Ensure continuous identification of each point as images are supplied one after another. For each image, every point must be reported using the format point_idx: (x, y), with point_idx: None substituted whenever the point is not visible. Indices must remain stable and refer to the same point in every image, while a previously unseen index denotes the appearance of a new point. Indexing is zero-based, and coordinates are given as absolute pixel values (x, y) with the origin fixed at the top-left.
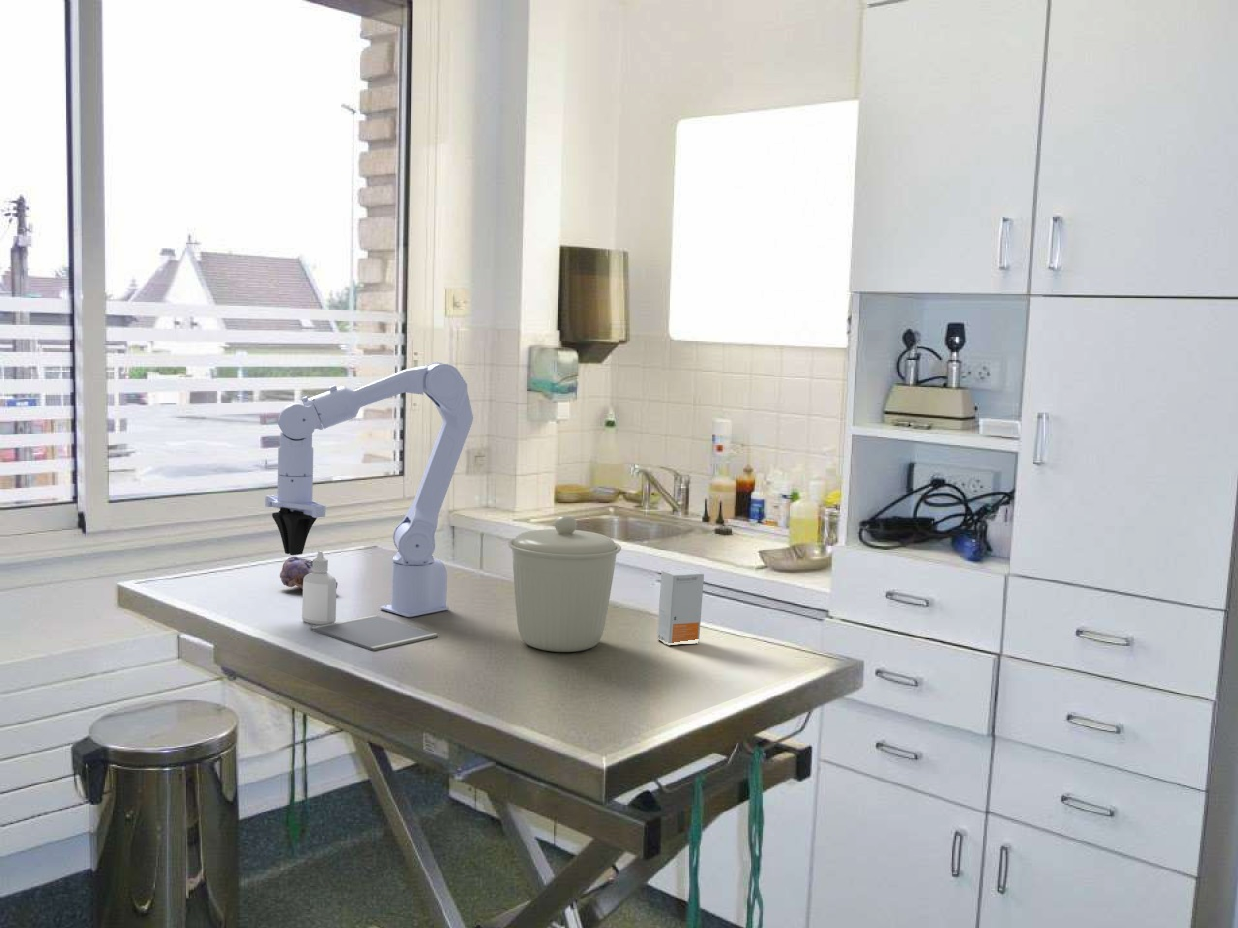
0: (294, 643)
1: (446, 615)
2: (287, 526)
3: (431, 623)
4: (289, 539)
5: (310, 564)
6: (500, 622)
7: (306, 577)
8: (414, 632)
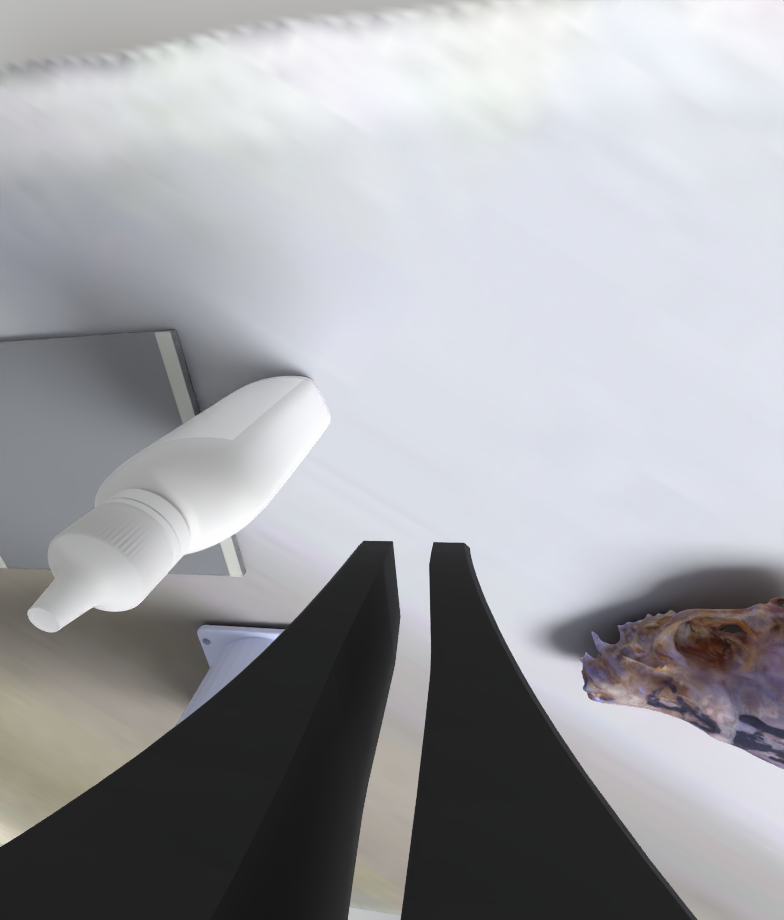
0: (8, 161)
1: (195, 689)
2: (225, 787)
3: (134, 626)
4: (321, 627)
5: (765, 741)
6: (96, 714)
7: (192, 451)
8: (26, 539)
